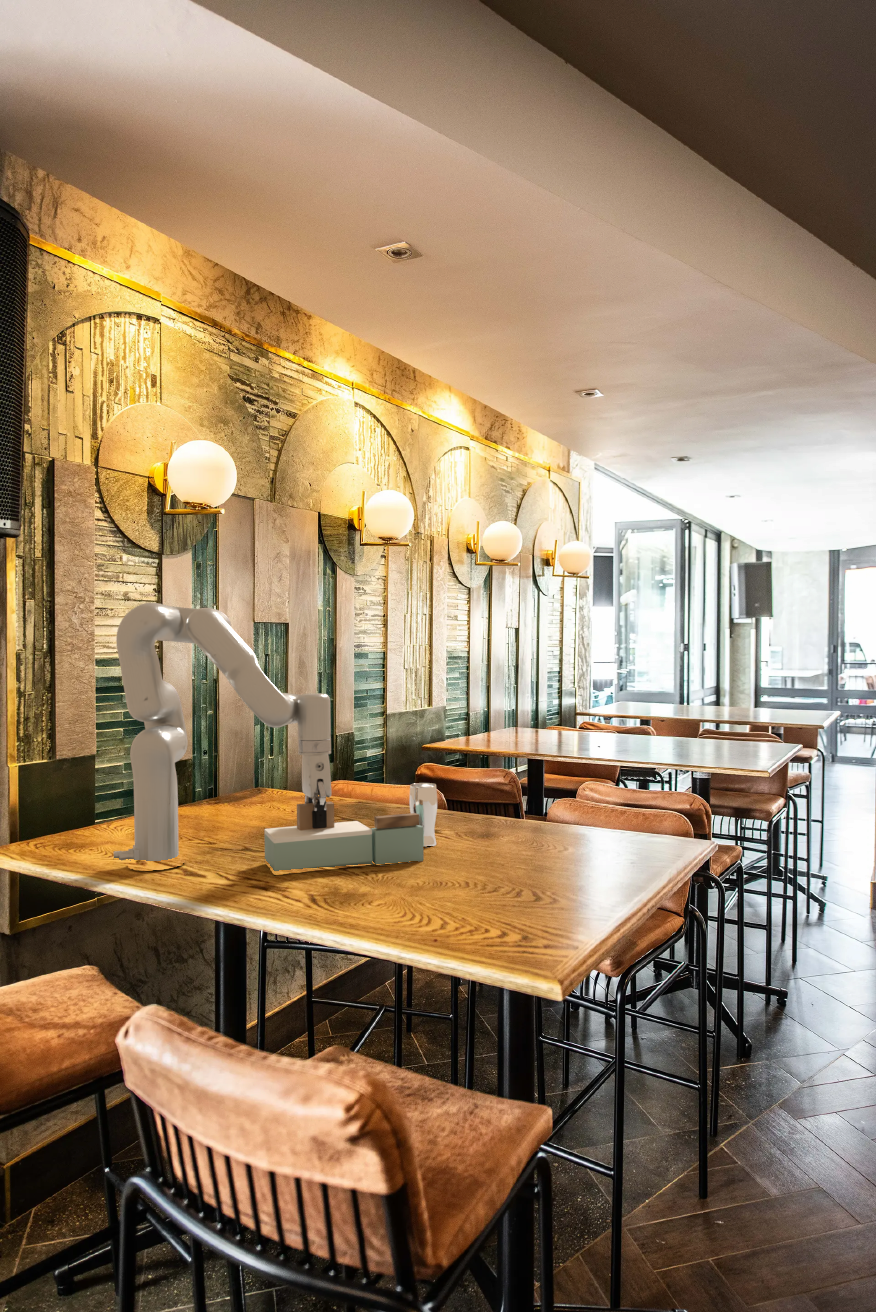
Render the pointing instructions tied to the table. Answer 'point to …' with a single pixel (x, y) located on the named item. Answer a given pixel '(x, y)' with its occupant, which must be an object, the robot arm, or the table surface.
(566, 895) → the table surface
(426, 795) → the beer glass
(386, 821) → the brown rectangular block
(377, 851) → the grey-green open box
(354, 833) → the lid
